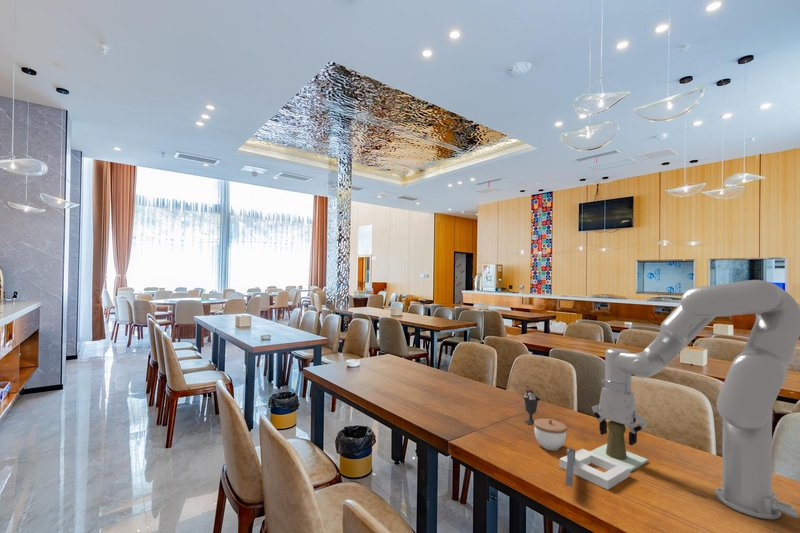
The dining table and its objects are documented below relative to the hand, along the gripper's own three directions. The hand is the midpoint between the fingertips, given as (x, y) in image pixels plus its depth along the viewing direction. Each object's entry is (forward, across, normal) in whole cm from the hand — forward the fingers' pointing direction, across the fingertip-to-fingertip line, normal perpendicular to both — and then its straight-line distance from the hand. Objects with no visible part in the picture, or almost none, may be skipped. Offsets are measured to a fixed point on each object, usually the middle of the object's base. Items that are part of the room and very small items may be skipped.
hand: (617, 438), depth 120 cm
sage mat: (+6, 0, 0) cm, 6 cm away
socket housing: (+6, 0, -16) cm, 17 cm away
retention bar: (+3, -1, -27) cm, 27 cm away
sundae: (+7, -34, +1) cm, 35 cm away
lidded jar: (+7, -17, -12) cm, 22 cm away
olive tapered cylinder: (+6, 0, 0) cm, 6 cm away
